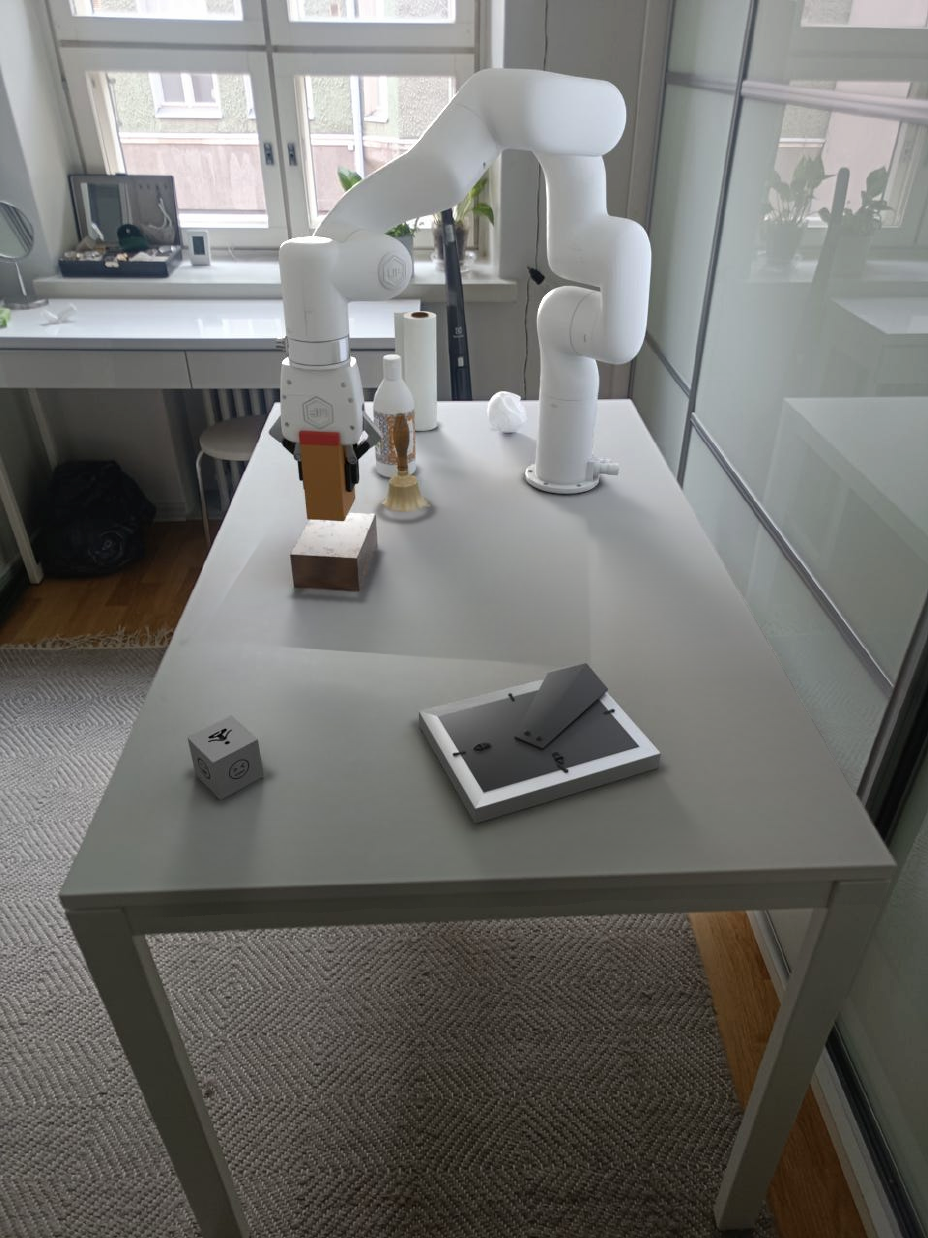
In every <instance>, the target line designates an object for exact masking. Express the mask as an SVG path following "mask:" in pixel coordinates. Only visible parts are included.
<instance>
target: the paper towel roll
mask: <svg viewBox="0 0 928 1238" xmlns="http://www.w3.org/2000/svg"><path fill="white" fill-rule="evenodd" d="M393 324H394V325H393V326H394V328H393V329H394V353H395V354H394V355H399V356H400V357H401V378H402V380H403V381H404V383H405V384H406V385H407V387H408V389H409V390H410V392H411V394H412V397H413V401H414V407H415V431H417V432H425V431H426V432H427V431H431V430H434V429H436V427H438V426H437V425H438V377H437V376H438V374H437V373H438V371H437V370H438V369H437V367H438V365H437V364H438V363H437V360H438V359H437V314H436V313H434V312H431V311H425V310H422V311H421V310H419V311H418V310H416V311H415V310H414V311H404V312H403V311H402V312H393Z"/></svg>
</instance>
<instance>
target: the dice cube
mask: <svg viewBox="0 0 928 1238" xmlns="http://www.w3.org/2000/svg"><path fill="white" fill-rule="evenodd" d="M187 742H188V746H189V751H190V755H191V760H192V764H193V769H194V774H195V775H196V776H197V777H198V779H199V780H200V781H201V782H202V783H203V784H204V785H205V786H206V787H207V788H208V789H209V790H210V791H211V792H212V793H213V794H214V795H215V796H216V797H217V798H218V799H219V800H220V801H221V800H223V799H225V798H227V797H229V796H231V795H232V794H234V793H237V792H238V791H240V790H242V789H244V788H245V787H247V786H250V785H251V784H252V783H254V782H256V781H258V780H259V779H262V778H263V777H265V775H264V768H263V762H262V756H261V750H260V744H259V739H258V737H256V735H254V734H253V733H252V732H250V730H249V729H248V728H246V727H245V726H244V725H243V724H242V723H241V722H240V721H239V720H237V718H235V717H234V716H233V714H231V715H229V716H228V717H227V716H226V717H225V718H223V719H221V720H219V721H217V722H215V723H213V724H211V725H209V726H207V727H205V728H203V729H201V730H199V731H197V732H195V733H193V734H191V735H189V736H187Z"/></svg>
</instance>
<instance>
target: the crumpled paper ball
mask: <svg viewBox="0 0 928 1238" xmlns="http://www.w3.org/2000/svg"><path fill="white" fill-rule="evenodd" d="M521 398H522V397H521V396H520V395H518V394H516V393H513V392H511V391H506V390H505V391H504V390H503V391H498V392H496V393H495V394H494V395H493V396H492V397H491V398H490V400H489V402H488V404H487V410H486V411H487V412H486V414H487V419H488V422H489V423H490V425H491V426H492V428H494V429H495V430H497V431H498V432H501V433H508V434H510V433H514V432H517V431H519V430H521V429H522V428H523V427H524V425H525V424H526V422H527V420H528V419H527V409H526V408H525V406H524V404H522V402H521V400H522V399H521Z"/></svg>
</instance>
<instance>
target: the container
mask: <svg viewBox="0 0 928 1238" xmlns="http://www.w3.org/2000/svg"><path fill="white" fill-rule="evenodd" d="M299 442H300V451H301V461H302V472H303V481H302V483H303V482H304V489H303V491H304V501H305V511H306V520H309V519H310V520H327V521H345V519H346V517H347V515H348V513H350V511H351V508H352V506H353V504H354V502H355V501H356V489H355V486H356V485H355V486H354V488H353V490H352V492H347V491H346V483H345V469H344V465H345V463H346V458H347V457H346V454H345V452H344V449H343V445H341V444H340V435H339V433H336V432H315V431H300V432H299Z"/></svg>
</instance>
